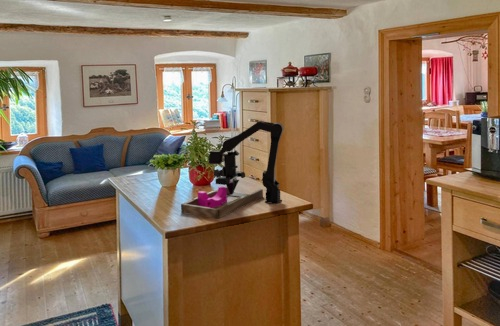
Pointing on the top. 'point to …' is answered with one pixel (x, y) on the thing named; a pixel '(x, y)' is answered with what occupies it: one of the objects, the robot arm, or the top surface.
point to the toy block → (214, 201)
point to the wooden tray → (244, 199)
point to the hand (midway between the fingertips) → (231, 194)
